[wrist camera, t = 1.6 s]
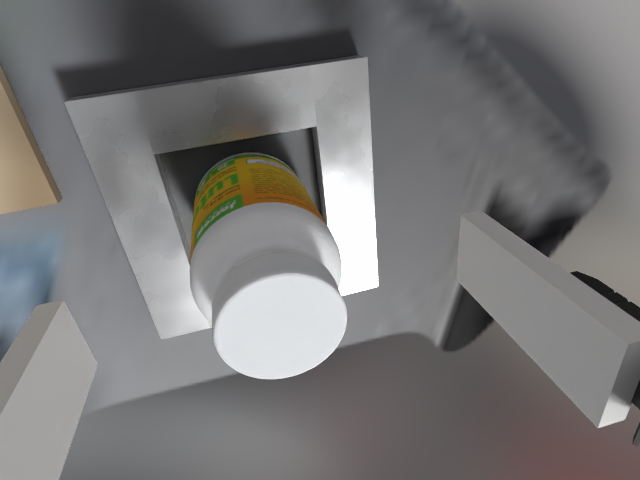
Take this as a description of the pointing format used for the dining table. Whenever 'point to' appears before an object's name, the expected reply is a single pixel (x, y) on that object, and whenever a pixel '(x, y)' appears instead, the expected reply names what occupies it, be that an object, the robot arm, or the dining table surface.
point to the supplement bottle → (265, 268)
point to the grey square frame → (218, 127)
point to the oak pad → (21, 160)
